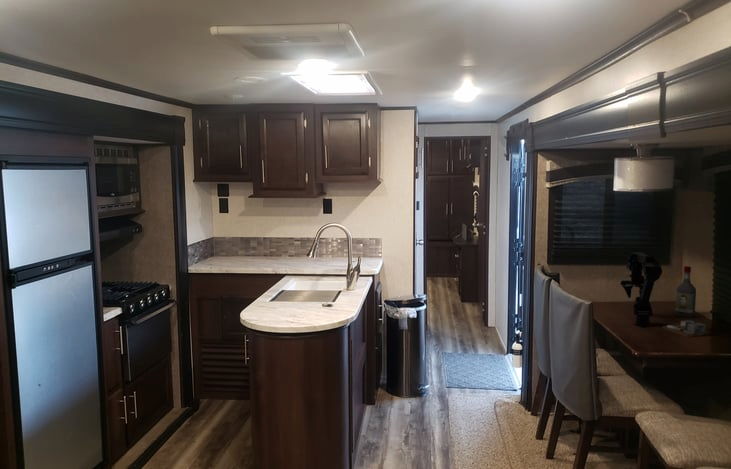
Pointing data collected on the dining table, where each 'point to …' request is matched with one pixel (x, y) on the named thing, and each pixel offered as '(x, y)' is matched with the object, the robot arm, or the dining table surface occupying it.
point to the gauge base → (688, 329)
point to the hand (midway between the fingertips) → (635, 299)
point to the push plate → (685, 324)
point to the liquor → (686, 296)
